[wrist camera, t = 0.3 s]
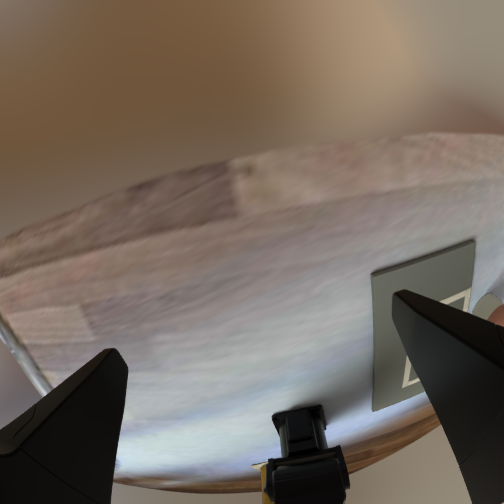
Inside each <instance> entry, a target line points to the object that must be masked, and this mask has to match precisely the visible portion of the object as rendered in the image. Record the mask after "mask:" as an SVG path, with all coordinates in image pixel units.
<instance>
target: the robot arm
mask: <svg viewBox="0 0 504 504" xmlns="http://www.w3.org/2000/svg"><path fill="white" fill-rule="evenodd" d="M391 315H392V320H393V323H394V325H395V328H396V330H397V332H398V335H399V337H400V339H401V342H402V344H403V347H404V349H405V352H406V354H407V356H408V359H409V361H410V363H411V365H412V367H413V369H414V370H415V372H416V374H417V376H418V378H419V380H420V382H421V384H422V386H423V388H424V390H425V392H426V394H427V396H428V398H429V400H430V402H431V404H432V406H433V408H434V410H435V412H436V414H437V416H438V418H439V421H440V423H441V425H442V427H443V429H444V431H445V434H446V436H447V438H448V441H449V443H450V445H451V448H452V450H453V452H454V455H455V457H456V460H457V462H458V465H460V466H459V468H460V470H461V473H462V476H463V478H464V481H465V484H466V486H467V489H468V492H469V495H470V498H471V501H472V504H501V503H503V502H504V327H503V326H501V325H498V324H496V325H495V323H493V322H490V321H488V320H485V319H483V318H480V317H478V316H475V315H473V314H470V313H467V312H465V311H462V310H460V309H457V308H454V307H452V306H449V305H447V304H444V303H441V302H439V301H436V300H433V299H431V298H428V297H425V296H423V295H420V294H418V293H415V292H412V291H409V290H407V289H402V290H399V291H396V292H394V293H393V295H392V313H391ZM127 380H128V366H127V364H126V363H125V361H124V359H123V358H122V356H121V355H120V353H119V352H118V350H117V349H115V348H108V349H104V350H103V351H102V352H100V353H99V354H98V355H96V356H95V357H94V358H93V359H91V360H90V361H89V362H87V363H86V364H85V365H84V366H82V367H81V368H80V369H79V370H77V371H76V372H75V373H73V374H72V375H71V376H70V377H68V378H67V379H66V380H65V381H63V382H62V383H61V384H59V385H58V386H57V387H56V388H54V389H53V390H52V391H51V392H49V393H48V394H47V395H46V396H44V397H43V398H42V399H41V400H40V401H38V402H37V403H36V404H34V405H33V406H32V407H31V408H29V409H28V410H27V411H25V412H24V413H23V414H22V415H20V416H19V417H17V418H16V419H15V420H13V421H12V422H11V423H9V424H8V425H6V426H5V427H3V428H2V429H1V430H0V504H111V494H112V485H113V476H114V468H115V461H116V454H117V448H118V441H119V436H120V430H121V424H122V419H123V414H124V407H125V398H126V388H127ZM272 421H273V423H274V425H275V428H276V430H277V432H278V434H279V436H280V444H281V454H282V458H276V459H273V458H271V459H268V464H267V465H266V480H265V484H264V493H266V494H267V495H268V497H269V499H270V501H271V503H274V504H345V501H346V492H345V490H346V489H350V482H349V475H348V471H347V467H346V464H345V460H344V457H343V454H342V450H341V447H340V445H338V446H336V447H333V448H328V446H327V441H326V437H325V432H324V430H326V423H325V418H324V412H323V407H322V405H317V406H313V407H309V408H305V409H300V410H296V411H291V412H286V413H281V414H276V415H273V416H272Z"/></svg>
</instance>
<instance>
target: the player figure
mask: <svg viewBox="0 0 504 504" xmlns="http://www.w3.org/2000/svg"><path fill="white" fill-rule="evenodd" d="M471 314H473V315H475V316H478V317H480V318H483V319H485V320H488V321H490V322H493V323H495V325H496V324H498V325H501V326H503V327H504V303H503V302H501V301H500V300H499V299H498V298H497V297H496V296H494V295H493V294H492V293H489V294H486V295H484V296H483V297H482V298H481V299H480V300H479V301H478V302H477V304H476V305H475V307H474V309H473V311H472V313H471Z"/></svg>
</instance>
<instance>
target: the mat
mask: <svg viewBox="0 0 504 504" xmlns="http://www.w3.org/2000/svg"><path fill="white" fill-rule="evenodd" d="M475 244H476V242H475V241H473V240H471V241H468V242H465V243H463V244H460V245H457V246H454V247H452V248H449V249H446V250H443V251H440V252H437V253H435V254H432V255H429V256H426V257H423V258H420V259H417V260H414V261H411V262H408V263H405V264H402V265H398V266H395V267H392V268H389V269H386V270H383V271H379V272H376V273H373V274H371V286H372V302H373V329H374V369H373V395H372V411H373V412H374V411H377V410H380V409H383V408H386V407H388V406H391V405H393V404H396V403H399V402H401V401H404V400H406V399H408V398H411V397H413V396H415V395H418V394H420V393H422V392H424V391H425V390H424V388H423V386H422V384H421V382H420V380H419V378H418V376H417V374H416V372H415V370H414V369H413V367H412V365H411V363H410V361H409V359H408V356H407V354H406V352H405V349H404V347H403V344H402V342H401V339H400V337H399V335H398V332H397V330H396V328H395V325H394V323H393V320H392V315H391V313H392V295H393V293H394V292H396V291H399V290H402V289H407V290H409V291H412V292H415V293H418V294H420V295H423V296H425V297H428V298H431V299H433V300H436V301H439V302H441V303H444V304H447V305H449V306H452V307H454V308H457V309H460V310H462V311H465V312H467V311H468V305H469V299H470V293H471V285H472V278H473V269H474V258H475Z"/></svg>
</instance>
